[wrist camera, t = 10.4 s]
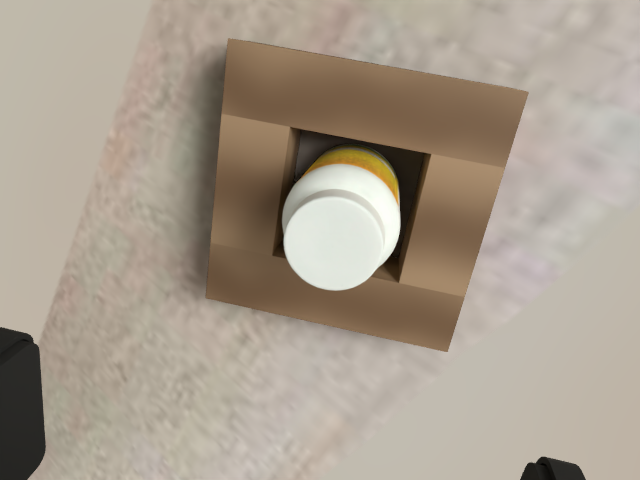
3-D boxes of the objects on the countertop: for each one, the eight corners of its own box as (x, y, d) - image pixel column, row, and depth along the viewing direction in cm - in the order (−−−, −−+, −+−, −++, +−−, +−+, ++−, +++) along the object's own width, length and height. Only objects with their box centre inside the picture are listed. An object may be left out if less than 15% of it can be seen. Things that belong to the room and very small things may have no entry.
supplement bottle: (402, 229, 28) (405, 305, 19) (312, 235, 29) (277, 311, 20) (395, 136, 26) (396, 174, 18) (300, 146, 27) (256, 186, 18)
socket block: (249, 41, 26) (228, 38, 23) (511, 88, 25) (528, 91, 21) (225, 273, 31) (205, 298, 28) (441, 320, 30) (447, 352, 27)
